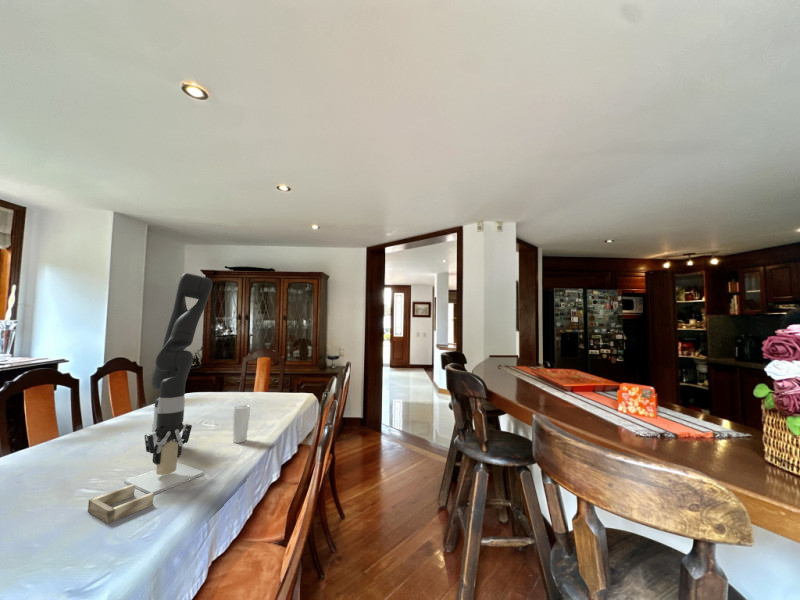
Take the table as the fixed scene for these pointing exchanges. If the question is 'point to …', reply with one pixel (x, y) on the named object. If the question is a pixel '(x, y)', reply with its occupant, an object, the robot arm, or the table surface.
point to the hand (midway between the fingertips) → (166, 460)
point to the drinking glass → (240, 423)
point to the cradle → (110, 514)
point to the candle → (168, 458)
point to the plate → (163, 479)
